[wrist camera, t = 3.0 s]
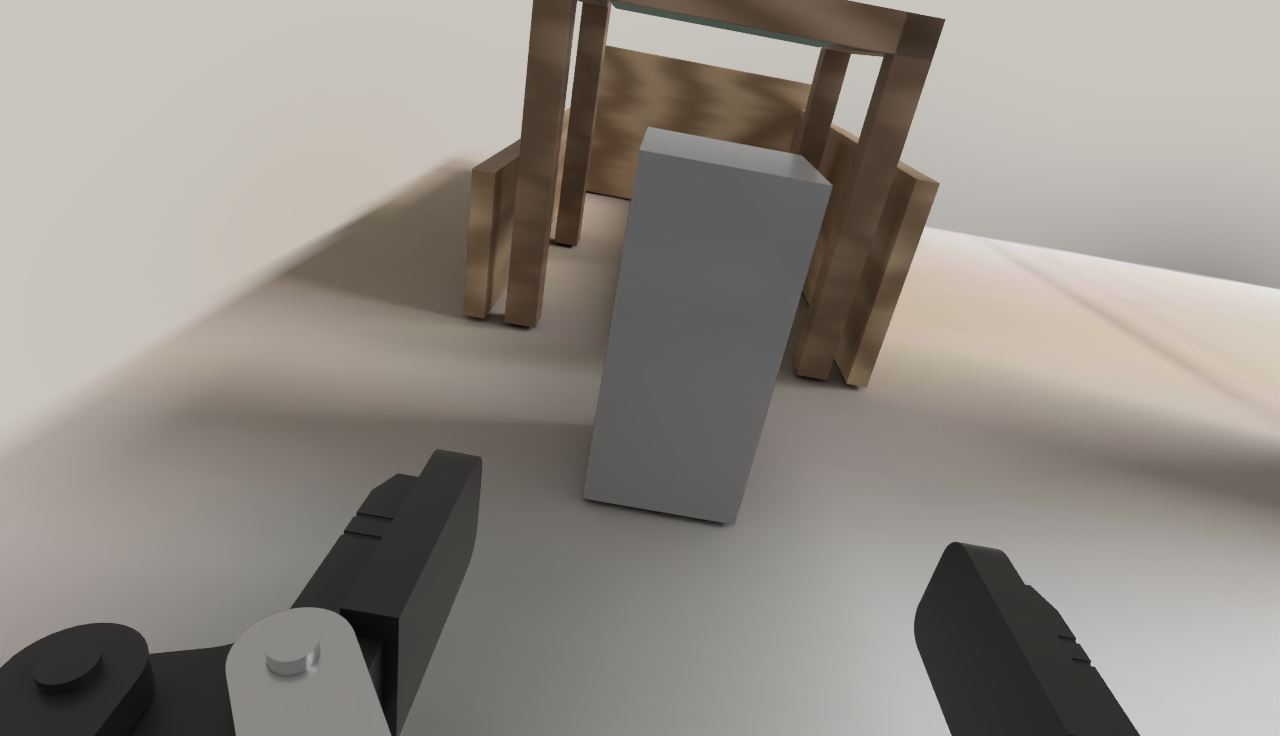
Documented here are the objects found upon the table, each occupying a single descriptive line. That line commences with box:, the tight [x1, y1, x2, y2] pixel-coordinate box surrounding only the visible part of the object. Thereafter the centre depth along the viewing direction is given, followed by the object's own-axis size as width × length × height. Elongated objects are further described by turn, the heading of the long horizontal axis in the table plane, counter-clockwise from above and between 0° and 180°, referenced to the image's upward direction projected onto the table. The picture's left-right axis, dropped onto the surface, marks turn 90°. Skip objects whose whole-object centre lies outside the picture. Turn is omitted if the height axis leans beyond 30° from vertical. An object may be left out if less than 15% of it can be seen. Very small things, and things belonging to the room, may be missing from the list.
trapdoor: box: [609, 0, 834, 47], centre depth 34 cm, size 12×12×1 cm
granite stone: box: [582, 127, 833, 525], centre depth 22 cm, size 5×5×11 cm
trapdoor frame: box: [464, 0, 945, 387], centre depth 45 cm, size 20×33×16 cm, turn 177°
